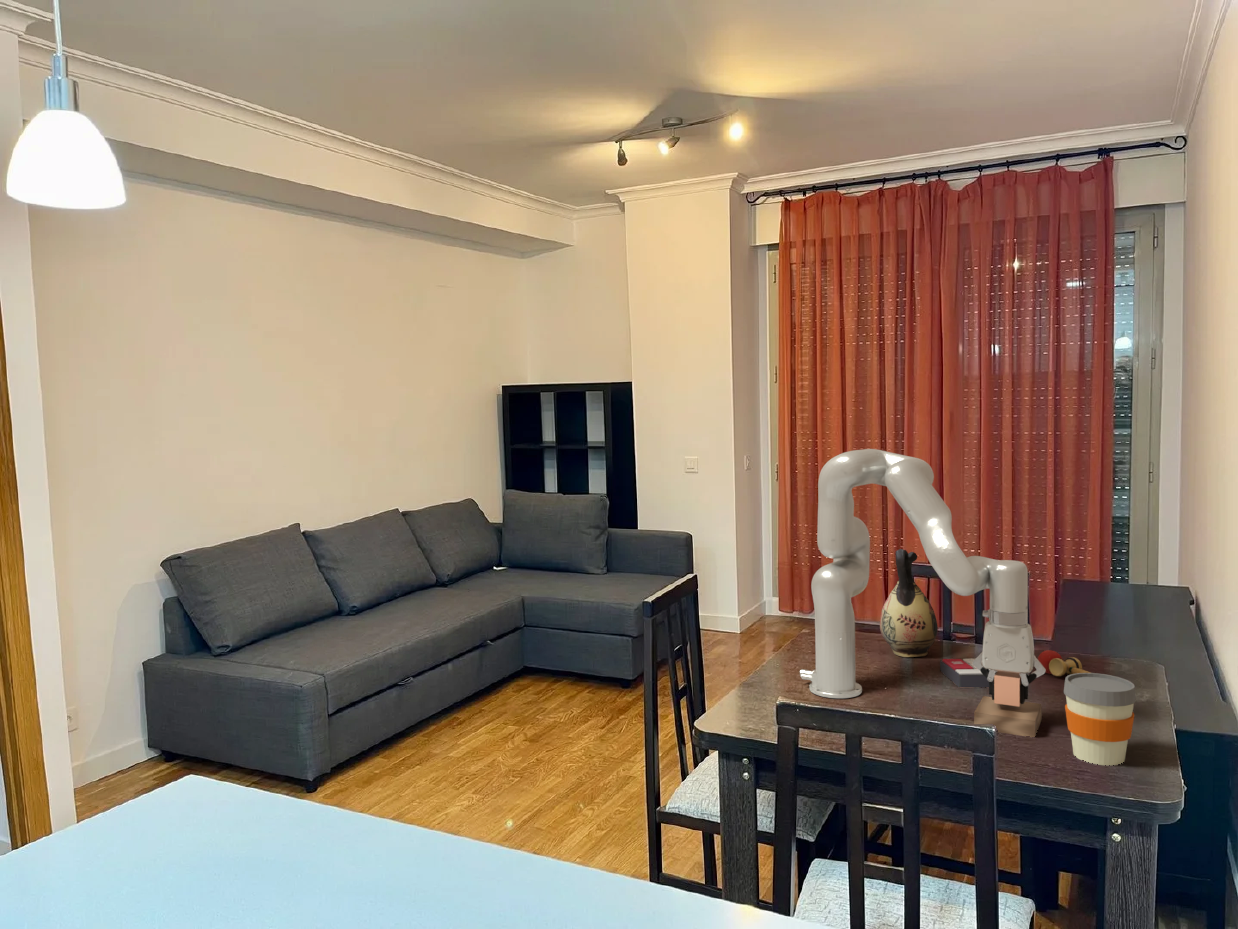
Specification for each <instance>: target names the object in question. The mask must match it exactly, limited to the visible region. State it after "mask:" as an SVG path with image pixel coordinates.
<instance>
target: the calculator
mask: <svg viewBox="0 0 1238 929" xmlns="http://www.w3.org/2000/svg"><path fill="white" fill-rule="evenodd" d="M975 659H976V658H942V660H940V662H939V666H940V667H939V668H940V672H941V673H942V674H943V675H944V676H945V675H946V676H945V677H946V678H948V679H949V680H950V681H951V682H954V683H955V684H956V685H957V686H958V687H989V681H988V680H987V678H986V677H985V676H984V675H983V674H982V673H981V671H980V670H978V669H977V668H976V667H975V666H974V665H973V664H972V663H973V661H974V660H975ZM981 663H982V662H981ZM989 670H990V669H989ZM954 683H953V684H954ZM955 684H954V685H955ZM956 685H955V686H956ZM957 686H956V687H957ZM958 687H957V688H958Z"/></svg>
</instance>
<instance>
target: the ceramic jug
mask: <svg viewBox="0 0 1238 929" xmlns="http://www.w3.org/2000/svg"><path fill="white" fill-rule="evenodd" d="M894 554H895V565H896V569H897V570H896V571H897V576H898V580H897V583H896V584H895V586H894V588H893V589H892V590H891V591H890V592H889V594H888V597H887V599H886V600H885V601H884V604H883V607H882V609H881V612H880V617H879V629H880V630H879V631H880V634H881V635H882V638H883V639H884V641H885V642H886V643H887V644H888V646H889V647H890V648H891V651H892V653H893V654H894V655H896V656H899V657H903V658H914V657H915V658H917V657H926V656H927V655H929V651H928V650H929V649H930V648H931V646H932V645H933V644H934V642H935V640H936V638H937V635H938V629H939V626H938V620H937V616H936V614H935V611H934V608H933V606H932V605H931V603H930V600H929V599H928V598H927V596H926V595H925V594H924V592H923V590H921V588H920V586H919V585H918V584H917V583H916V582H915V579H914V578H913V574H912V572H913V571H912V566H913V563H914V562H915V561H917V560H918V555H917V553H915V551H910V552H908V550H907V549H902V548H899V549H897V550H895V553H894Z"/></svg>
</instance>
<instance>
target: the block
mask: <svg viewBox="0 0 1238 929" xmlns="http://www.w3.org/2000/svg"><path fill="white" fill-rule="evenodd" d="M1021 682H1022V681H1021V677H1020V674H1019V673H1014V672H1005V671H997V672H996V674H995V676H994V703H997V704H1004V705H1011V706H1020V704H1021V703H1020V685H1021Z"/></svg>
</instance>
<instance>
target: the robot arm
mask: <svg viewBox="0 0 1238 929" xmlns="http://www.w3.org/2000/svg"><path fill="white" fill-rule="evenodd" d="M934 474H935V473H934V471H933V469H932V467H931V465H930V464H929V463H928V462H927V461H925V460H923V459H921V458H918V457H914V456H908V455H905V454H901V453H900V454H899V453H895V452H891V451H890V452H889V451H886V450H881V449H877V448H864V449H857V450H856V449H855V450H849V451H845V452H842V453H840V454H838V455H835V456H833V457H832V458H831V459H829V460H828V461H827V462H826V463H825V464H824V465H823V467H822V468H821V470H820V473H819V476H818V482H817V488H818V489H817V491H818V492H817V493H818V496H817V497H818V503H817V536H816V539H817V540H816V542H817V547H818V550H819V552H820V553H821V554H822V555H823V556H824V557H825V558H828V559H832V560H833V561H832V562H830V563H828V564H825V565H823V566H821V567H820V568H819V569H818V570H816V571H815V573H814V574H813V576H812V579H811V582H810V583H811V585H810V587H811V595H812V601H813V608H814V609H813V610H814V629H815V633H814V634H815V635H814V636H815V643H814V644H815V647H814V648H815V669H813V670H808V669H803V668H801V669H800V670H799V676H800V677H801V679H802V680H804V681H805V680H808V681H810V683H809V691H810V692H811V693H812V694H814V695H816V696H820V697H823V698H829V699H849V698H850V699H851V698H855V697H858V696H860V695H861V694H862V693H863V687H862V685H861V684H859V683H858V682H856V619H855V613H854V608H853V604H852V598H854V597H856V596H857V595H858V596H859V594H861V593H862V592H864V590H865V589H866V588H867V586H868V585H869V584H868V583H869V578H870V557H871V556H870V555H871V554H870V553H871V550H870V549H871V547H870V546H871V539H870V538H871V537H870V533H869V529H868V527H867V525H866V523H864V521H863V520H862V519H860V518H859V517H857V516H854V514H855V500H854V496H853V492H852V490H853V488H855V487H860V486H865V485H870V484H871V485H872V484H874V485H879V486H884V487H886V488H887V490H888V491H889V492H890V494H891V495H892V496H893V498H894V500H895V501H896V502H897V504H898V505H899V506H900V508H901V509H902V510H903V511H904V513H905V514H906V516H907V518H908V519H909V521H910V522H911V523H912V525H913V526H914V528H915V529H916V531H917V533H918V536H919V540H920V543H921V545H922V548H923V550H924V553H925V555H926V558H927V560H928V562H929V563H930V565H931V566H932V568H933V569H934V571H935V572H936V574H937V576H938V577H939V578H940V579H941V581H942V582H943V583H944V585H945V586H946V587H947V588H948V589H949V590H950V591H951V592H953V594H954V593H955V594H956V595H959V596H962V597H969V596H971V595H974V594H977V593H978V592H980V591H982V590H983V591H984V590H987V589H989V609H987V610H982V617H985V618H987V619H988V620H989V621H986V622H985V624H984V631H983V639H982V652H980V654H978V656H977V657H976V658H974V659H975V660H974V661H973V663H972V664H973V665H974V666H975V667H976V668H977V669H978V670H980V671H981V673H982V674H983V675H984V676H985V677H986V678H987V680H988V681H989V688H988V694H989V695H991V697H992V700H994V676H995V674H996V672H997V671H1005V672H1014V673H1019V674H1020V677H1021V681H1022V682H1021V685H1020V703H1021V704H1024V702H1026V700H1029V685H1030V684H1031V683H1032V682H1034V681H1035V680H1036V679H1037V678H1039V677H1042V676H1043V675H1044V674H1046V673H1045V672H1046V669H1045V668H1044V667H1043V665H1042V664H1041V663H1040V662H1039V661H1038V657H1036V655H1035V646H1034V637H1033V630H1032V626H1031V624H1029V623H1028V617H1029V616H1028V612H1029V611H1028V600H1029V599H1028V595H1029V592H1028V591H1029V590H1028V587H1029V586H1028V585H1029V584H1028V582H1029V581H1028V579H1029V578H1028V576H1029V575H1028V574H1029V573H1028V567H1027V565H1026V564H1025V563H1024V562H1023V561H1019V560H1013V559H1012V560H1011V559H1001V560H999V559H993V558H991V557H990V558H989V557H986V556H981V555H971V556H968V557H967V556H966V555H965V553H964V551H962V549H961V548H960V546H959V544H958V542H957V540H956V539H955V536H954V534H953V529H952V528H953V526H952V522H953V521H952V520H953V518H952V517H953V516H952V512H951V509H950V508H949V506H948V505H947V503H945V501H944V499H943V498H942V496H940V494H939V493H938V491H937V490H936V489H935V487H934V485H933V483H934V479H935V475H934ZM981 662H982V663H981ZM1034 668H1035V669H1036V670H1035V671H1033V670H1034ZM989 669H990V670H989Z"/></svg>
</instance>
